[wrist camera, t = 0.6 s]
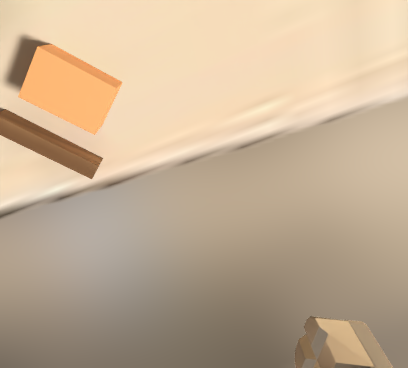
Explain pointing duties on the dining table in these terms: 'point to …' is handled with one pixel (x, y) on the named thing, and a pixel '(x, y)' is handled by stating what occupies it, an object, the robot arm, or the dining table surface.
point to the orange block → (69, 88)
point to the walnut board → (48, 144)
